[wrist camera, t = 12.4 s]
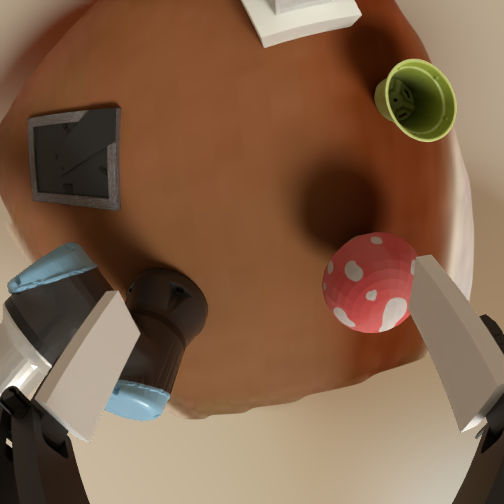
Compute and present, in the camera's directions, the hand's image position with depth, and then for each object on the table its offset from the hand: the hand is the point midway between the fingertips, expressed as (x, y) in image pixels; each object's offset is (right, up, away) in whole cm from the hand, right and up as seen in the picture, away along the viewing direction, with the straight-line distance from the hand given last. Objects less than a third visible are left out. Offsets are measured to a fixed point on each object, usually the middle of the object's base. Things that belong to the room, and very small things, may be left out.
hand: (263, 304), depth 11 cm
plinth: (+4, +35, +13) cm, 37 cm away
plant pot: (+18, +22, +18) cm, 34 cm away
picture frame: (-31, +18, +26) cm, 44 cm away
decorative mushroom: (+16, +3, +29) cm, 33 cm away
